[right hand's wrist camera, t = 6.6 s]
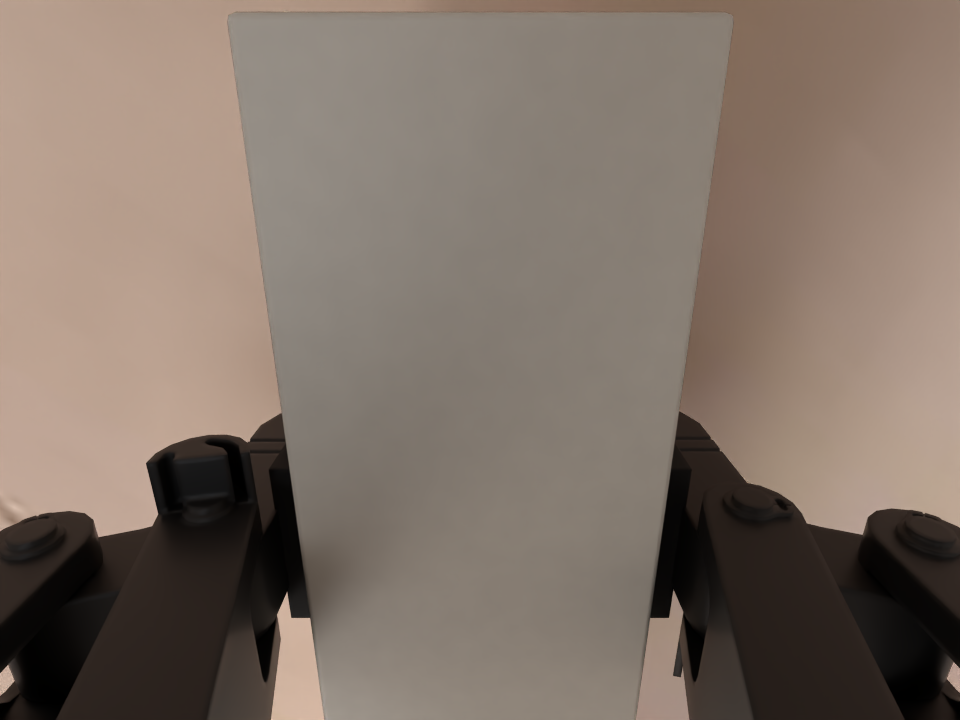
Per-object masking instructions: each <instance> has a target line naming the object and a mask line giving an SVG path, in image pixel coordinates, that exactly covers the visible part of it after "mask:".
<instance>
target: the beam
mask: <svg viewBox="0 0 960 720" xmlns="http://www.w3.org/2000/svg"><path fill="white" fill-rule="evenodd" d="M733 23H734V21H733V15H731V14H728V13H726V12H234V13H232V14H230V15H228V30H229V37H230V44H231V51H232V58H233V66H234V73H235V80H236V87H237V94H238V102H239V109H240V116H241V123H242V130H243V137H244V145H245V152H246V159H247V166H248V173H249V181H250V188H251V195H252V202H253V209H254V217H255V224H256V231H257V238H258V245H259V252H260V260H261V267H262V274H263V281H264V288H265V296H266V303H267V310H268V317H269V324H270V332H271V339H272V346H273V353H274V360H275V368H276V375H277V382H278V389H279V396H280V403H281V411H282V418H283V425H284V432H285V439H286V447H287V454H288V461H289V468H290V475H291V483H292V490H293V497H294V504H295V511H296V518H297V526H298V533H299V540H300V547H301V554H302V562H303V569H304V576H305V583H306V590H307V598H308V605H309V612H310V619H311V626H312V634H313V641H314V648H315V655H316V662H317V669H318V677H319V684H320V691H321V698H322V705H323V713H324V720H636V714H637V707H638V700H639V693H640V686H641V678H642V671H643V664H644V657H645V650H646V643H647V636H648V629H649V621H650V614H651V607H652V600H653V593H654V586H655V579H656V572H657V565H658V557H659V550H660V543H661V536H662V529H663V522H664V515H665V508H666V500H667V493H668V486H669V479H670V472H671V465H672V458H673V451H674V443H675V436H676V429H677V422H678V415H679V408H680V401H681V394H682V386H683V379H684V372H685V365H686V358H687V351H688V344H689V337H690V330H691V322H692V315H693V308H694V301H695V294H696V287H697V280H698V273H699V265H700V258H701V251H702V244H703V237H704V230H705V223H706V216H707V208H708V201H709V194H710V187H711V180H712V173H713V166H714V159H715V152H716V144H717V137H718V130H719V123H720V116H721V109H722V102H723V95H724V87H725V80H726V73H727V66H728V59H729V52H730V45H731V38H732V30H733Z"/></svg>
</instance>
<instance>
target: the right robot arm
mask: <svg viewBox="0 0 960 720" xmlns="http://www.w3.org/2000/svg"><path fill="white" fill-rule="evenodd" d="M146 465H147V469H148V473H149V477H150V481H151V486H152V490H153V494H154V498H155V502H156V506H157V510H158V516H157V518H156V520H155V522H154V524H153V526H152V527H148V528H144V529H140V530H135V531H129V532H124V533H119V534H114V535H109V536H103V537H98V535H97V531H96V528H95V524H94V521H93V519H91V518H90V517H89V516H88V515H86V514H85V513H79V512H72V511H66V512H56V513H46V514H41V515H39V516H37V517H36V516H33V517H30V518H27V519H24V520H22V521H21V522H19V523H17V524H15V525H12V526H10V527H8V528H5V529H3V530H2V531H0V673H1V672H2V671H3V670H4V668H5V667H6V666H7V665H9V668H10V670H11V673H12V675H13V678H14V680H15V681H14V683H13V684H12V685H11V686H10V687H9V688H8V689H7V690H6V692H5V693H3V694H2V695H1V696H0V720H271V713H272V705H273V697H274V689H275V681H276V673H277V665H278V657H279V649H280V640H281V638H280V631H279V624H278V618H277V614H278V611H279V609H280V607H281V604H282V602H283V600H284V597H285V595H286V593H287V592H288V599H289V605H290V611H291V618H310V612H309V605H308V598H307V590H306V583H305V576H304V569H303V562H302V554H301V547H300V540H299V533H298V526H297V518H296V511H295V504H294V497H293V490H292V483H291V475H290V468H289V461H288V454H287V447H286V439H285V432H284V425H283V418H282V414H279V415H277V416H276V417H274V418H272V419H271V420H269V421H267V422H266V423H264V424H262V425H261V426H260V427H259V429H258V430H257V431H256V432H255V434H254V435H253V436H252V437H251V439H250V442H248V443H247V442H245V441H244V440H243V439H241V438H239V437H234V436H230V435H206V436H201V437H195V438H190V439H187V440H184V441H181V442H178V443H175V444H172V445H170V446H168V447H166V448H165V449H163V450H161V451H159V452H157V453H156V454H155V455H154V456H153V457H152V458H151V459H150V460H149V461H148V462H147V463H146ZM673 589H674V591H675V594H676V596H677V598H678V601H679V603H680V605H681V607H682V610H683V618H682V624H681V630H680V636H679V642H678V648H677V654H676V660H675V667H674V673H673V676H677V677H681V673H682V668H683V672H684V680H685V688H686V696H687V704H688V712H689V720H960V693H959V692H958V691H957V690H956V689H955V688H954V687H953V685H952V684H951V683H950V682H949V681H948V680H947V676H948V674H949V671H950V669H951V667H952V664H953V662H954V663H955V664H956V665H957V666H958V667H959V668H960V528H959V527H958V526H955V525H953V524H951V523H948V522H946V521H944V520H941V519H940V518H939V517H936V516H933V515H930V514H927V513H925V514H923V513H922V512H919V511H914V510H901V509H886V510H879V511H876V512H874V513H873V514H872V515H870V516H869V517H868V519H867V523H866V526H865V529H864V533H863V535H860V534H855V533H849V532H844V531H839V530H834V529H829V528H823V527H819V526H815V525H811V524H807V523H806V521H805V519H804V517H803V515H802V513H801V512H800V511H799V510H798V508H797V507H796V506H795V505H794V504H793V502H791V501H789V500H788V499H786V498H785V497H783V496H782V495H780V494H779V493H777V492H774V491H772V490H769V489H767V488H764V487H762V486H759V485H754V484H749V483H747V482H746V481H745V480H744V479H743V477H742V476H741V475H740V474H739V472H738V471H737V470H736V469H735V467H734V466H733V465H732V464H731V462H730V461H729V460H728V459H727V457H726V456H725V455H724V454H723V452H722V451H720V448H719V447H718V446H717V445H716V443H715V442H714V441H713V440H711V439H710V436H709V435H708V433H707V432H706V431H705V430H704V428H703V427H702V426H701V425H700V423H698V422H696V421H695V420H693V419H691V418H690V417H688V416H686V415H685V414H683V413H681V412H679V415H678V422H677V429H676V436H675V443H674V451H673V458H672V465H671V472H670V479H669V486H668V493H667V500H666V508H665V515H664V522H663V529H662V536H661V543H660V550H659V557H658V565H657V572H656V579H655V586H654V593H653V600H652V607H651V614H650V618H669V614H670V607H671V601H672V595H673Z"/></svg>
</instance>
